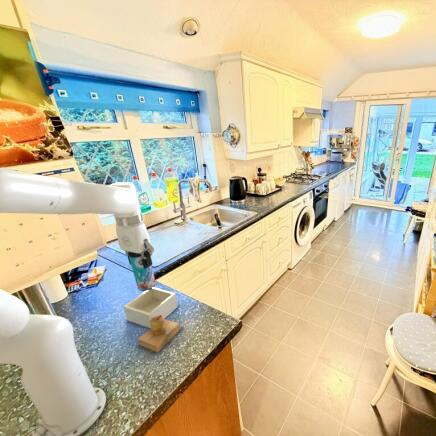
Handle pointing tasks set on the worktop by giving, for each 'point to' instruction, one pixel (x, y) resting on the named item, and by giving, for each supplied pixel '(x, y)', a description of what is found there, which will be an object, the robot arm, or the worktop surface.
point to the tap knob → (157, 325)
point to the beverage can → (141, 272)
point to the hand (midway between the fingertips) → (141, 264)
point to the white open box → (150, 306)
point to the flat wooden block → (159, 336)
